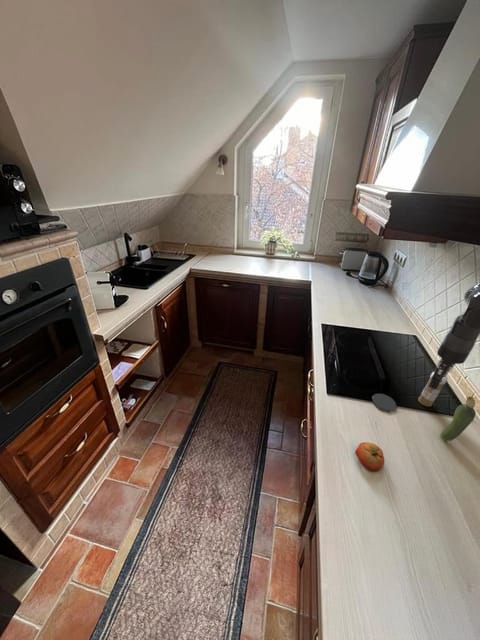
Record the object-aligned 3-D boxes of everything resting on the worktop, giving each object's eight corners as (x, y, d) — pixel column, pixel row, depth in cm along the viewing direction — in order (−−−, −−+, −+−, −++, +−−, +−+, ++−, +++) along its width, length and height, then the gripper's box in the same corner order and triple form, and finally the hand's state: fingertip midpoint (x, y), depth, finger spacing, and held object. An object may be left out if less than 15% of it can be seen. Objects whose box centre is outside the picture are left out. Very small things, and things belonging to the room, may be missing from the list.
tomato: (360, 470, 71) (363, 443, 73) (349, 461, 78) (352, 436, 79) (388, 477, 71) (391, 450, 72) (375, 467, 78) (378, 443, 79)
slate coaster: (388, 394, 98) (388, 393, 98) (400, 411, 91) (400, 410, 91) (368, 395, 98) (368, 393, 97) (378, 412, 91) (379, 410, 91)
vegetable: (453, 439, 82) (484, 395, 72) (454, 450, 79) (488, 406, 69) (436, 433, 84) (465, 389, 74) (437, 443, 81) (467, 399, 71)
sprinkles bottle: (415, 397, 97) (429, 370, 91) (427, 398, 97) (442, 371, 90) (421, 406, 93) (436, 379, 87) (434, 407, 93) (450, 380, 86)
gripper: (464, 360, 76) (440, 400, 84) (476, 343, 83) (453, 381, 92) (435, 348, 81) (415, 387, 89) (449, 333, 88) (430, 370, 97)
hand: (435, 384), depth 91 cm, fingers closed on sprinkles bottle, 4 cm apart
